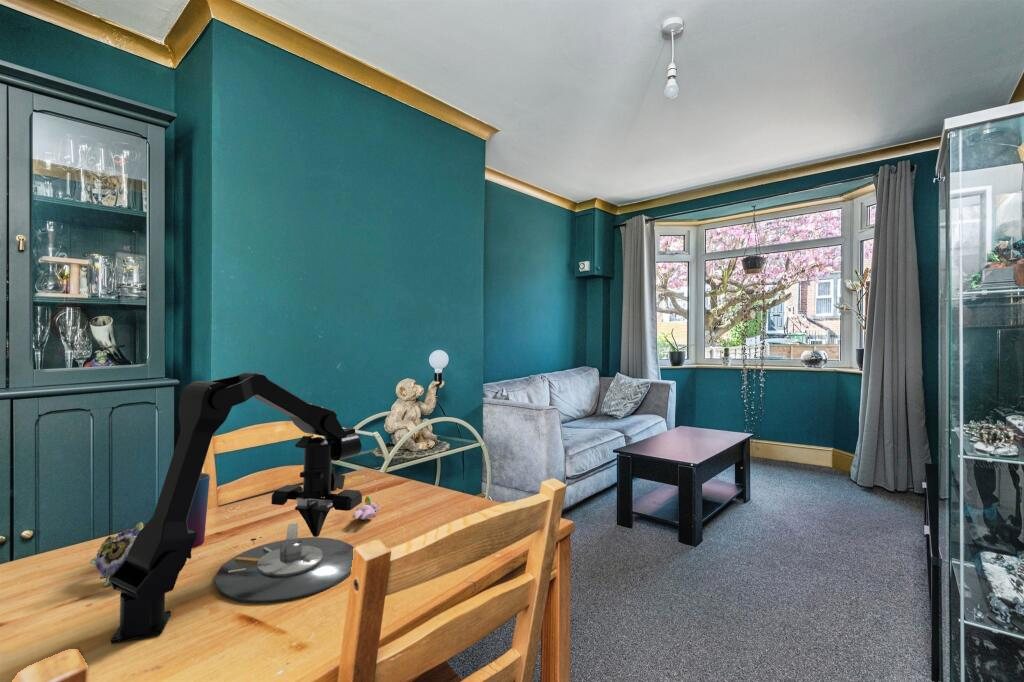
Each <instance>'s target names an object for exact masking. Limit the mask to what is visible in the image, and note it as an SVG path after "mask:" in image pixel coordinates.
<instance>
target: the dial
mask: <svg viewBox="0 0 1024 682" xmlns="http://www.w3.org/2000/svg"><path fill="white" fill-rule="evenodd" d="M298 525H299V524H298V522H297V523H295V522H294V523H289V524H287V528H286V529H287V530H286V537H285V540H286V541H284V542H282V543H281V544H280V549H277V550H274V551H271V552H269V553H267V554H265V555H264V556H262V557H261V558H260V559H259V560H258V563H257V569H258V571H259V572H260V573H262V574H264V575H268V576H290V575H295V574H299V573H302V572H305V571H308V570H310V569H312V568H314V567H316V566H317V565H318V564H319V563H320V562H321V561H322V558H323V553H322V551H321V550H320V549H319V548H316V547H313V546H304V545H302V541H301V540H299V539H297V538H299V537H298V534H299V533H298V532H299V531H298V530H299V529H298V528H299V526H298Z"/></svg>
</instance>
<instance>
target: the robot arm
mask: <svg viewBox="0 0 1024 682" xmlns="http://www.w3.org/2000/svg"><path fill="white" fill-rule="evenodd" d="M251 398H254V399H256V400H258V401H259V402H261V403H263V404H265V405H267V406H269V407H270V408H271V409H274V410H276V411H278V412H280V413H282V414H283V415H285V416H287V417H288V418H289V419H290V420H291V421H292V423H293V425H294V426H295V427H297V428H298V430H300V431H301V432H303V433H304V434H310V435H315V436H317V437H311V436H309V435H307V436H306V435H303V436H302V437H301V438H300V439H299V440H298V441H297V442H296V443H295V444H294V447H295V448H298V449H303V470H302V471H301V472H300V473H299V478H303V480H302V481H303V484H302V485H303V486H301V485H296V484H295V485H293V484H286V485H284V486H282V487H279V488H278V489H276V490H274V491H273V493H272V495H271V499H270V500H271V501H270V504H271V505H273V506H274V505H275V506H276V505H277V506H284V505H285V504H287V502H288V500H294V501H296V504H297V505H296V506H294V510H295V511H298V512H299V514H300V515H301V517H302V519H303V520H304V521H305V523H306V525H307V527H308V529H309V531H310V533H311V534H312V536H313V537H319V536H320V534H321V531H322V529H323V527H324V524H325V521H326V518H327V516H328V515H329V512H330V511H331V509H334V510H335V511H343V512H346V511H351V510H353V509H354V508H357V506H359V505H361V504H362V503H363V494H362V492H361V491H360V490H357V489H348V488H347V489H346V488H344V484H345V480H346V475H345V474H339V473H336V468H335V467H334V466H333V467H332V462H335V461H336V462H337V461H342V460H345V459H349V458H353V457H356V456H358V455H359V454H360V452H361V449H362V442H361V439H360V437H359V436H358V434H357V433H356V428H354V427H346V428H343V426H342V425H341V423H340V422H339V420H338V418H337V417H338V414H337V412H335V410H332V409H330V408H327V407H324V406H321V405H317V404H313V403H310V402H307V401H306V400H304V399H302V398H300V397H299V396H297V395H295V394H293V393H292V392H290V391H289V390H287V389H286V388H284V387H282V386H281V385H279V384H277V383H276V382H274V381H272V380H270V379H269V378H268V377H267V376H266V375H265V374H264V373H260V372H249V371H247V372H243V373H240V374H236V375H233V376H230V377H229V376H228V377H224V378H219V379H214V380H211V381H205V380H197V381H192V382H191V383H189V384H186V385H185V386H184V387H183V389H182V391H181V393H180V398H179V404H178V412H177V413H178V419H179V425H180V433H179V436H178V439H177V442H176V445H175V448H174V451H173V453H172V454H173V455H172V457H171V460H170V464H169V467H168V470H167V473H166V475H165V479H164V481H163V485H162V487H161V491H160V494H159V497H158V500H157V503H156V506H155V510H154V512H153V515H152V516H151V518H150V519H149V521H147V523H145V524H144V526H143V528H142V529H141V531H140V532H139V533H138V535H137V537H136V539H135V541H134V543H133V545H132V547H131V549H130V551H129V553H128V556H127V558H126V559H125V560H124V561H123V562H122V564H121V565H120V566H119V567H118V568H117V569H116V570H115V572H114V573H113V574H112V575H111V576H110V577H109V582H110V587H111V588H112V589H113V590H115V591H118V592H121V593H120V594H119V598H120V599H119V600H120V601H119V626H118V627H117V629H116V630H115V632H114V634H113V635H112V637H111V638H110V643H111V644H115V643H116V644H117V643H122V642H127V641H133V640H137V639H143V638H149V637H150V638H151V637H155V636H158V635H162V634H163V633H164V630H165V627H166V626H167V624H168V622H169V620H170V618H171V616H172V610H166V593H169V592H172V591H173V590H174V589H175V586H176V582H177V580H178V577H179V574H180V572H181V571H182V570H183V569H184V567H185V565H186V562H187V561H188V559H189V560H190V559H192V550H193V548H192V547H193V544H194V542H195V540H196V536H197V533H196V532H194V531H191V530H188V526H187V517H188V514H189V511H190V507H191V504H192V501H193V498H194V494H195V491H196V488H197V485H198V481H199V478H200V475H201V473H203V472H202V471H203V468H204V465H205V462H206V458H207V455H208V452H209V449H210V446H211V442H212V439H213V436H214V435H215V433H216V432H217V431H218V430H219V428H221V426H222V425H223V424H224V423H225V422H226V421H227V419H228V417H229V415H230V413H231V411H232V410H233V407H235V406H238V405H240V404H243V403H245V402H247V401H248V400H250V399H251ZM324 437H325V438H324ZM337 490H341V491H340V492H338V493H332V492H335V491H337Z"/></svg>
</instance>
